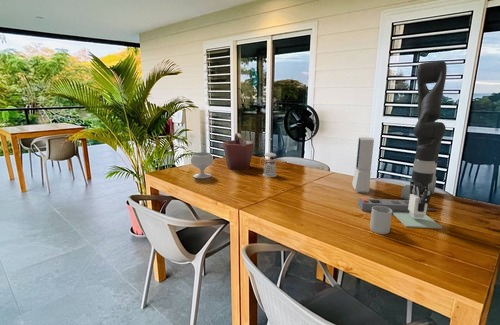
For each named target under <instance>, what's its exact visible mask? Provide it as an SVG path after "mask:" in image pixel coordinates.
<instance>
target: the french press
mask: <svg viewBox="0 0 500 325" xmlns="http://www.w3.org/2000/svg"><path fill="white" fill-rule="evenodd" d="M268 140H269V141H270V142H269V145H270V146H269V147H270V148H269V149H270V150H269V152H266V153H265V154H264V156H262V157H260V160H259V165H260V167H261V168H263V173H262V177H267V178H274V177H277V176H278V175H277V173H276V172H277V167H276V166H277V163H276V160H275V159H265V158H267V157H269V158H271V157H277V154H276V153H275V152H274V153H273V152H272V150H271V149H272V148H271V142H272V140H273V138H271V137H269V139H268ZM263 159H264V163H263V164H264V166H262V164H261V163H262V162H261V161H262V160H263Z"/></svg>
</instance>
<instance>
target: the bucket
mask: <svg viewBox="0 0 500 325" xmlns="http://www.w3.org/2000/svg"><path fill="white" fill-rule="evenodd" d="M222 147H223V152H224V156H225V162H226V166H227V168H228V169H230V170H237V171H238V170H239V171H242V170H246V169H247V170H248V169H250V166H251V162H252V156H253V152H254V141H253V140H252V141H251V140H246V139H244V137H243V135H242V134H241V133H239V132H237V133H235V134H234V140H233V139H232V140H226V141H223V142H222Z"/></svg>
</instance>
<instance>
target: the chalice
mask: <svg viewBox="0 0 500 325" xmlns="http://www.w3.org/2000/svg"><path fill="white" fill-rule="evenodd" d="M213 161H214V160H213V156H212V154H211V153H210V152H202V151H201V152H200V151H199V152H194V153H192V154H191V158H190V164H191V165H192V166H194V167H196V168H198V169H199V170H200V173H196V174H193V175H192V177H193V178H194V179H199V180H200V179H208V178H211V177H213V176H212V174H211V173H206V172H204V171H205V170H206V169H207V168H208V167H210V166H211V165H212V164H213V163H214V162H213Z"/></svg>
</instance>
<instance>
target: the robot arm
mask: <svg viewBox="0 0 500 325" xmlns="http://www.w3.org/2000/svg"><path fill="white" fill-rule="evenodd" d="M447 70H448V69H447V62H445V60H438V61H428V62H422V63H419V65H418V66H417V69H416V82H417V83H416V84H417V120H418V121H417V122H416V124H415V125H414V128H413V136H414V137H415V138H416V139H417V140H416V143H417V146H416V150H415V157H414V161H413V166H412V173H411V181H410V182H409V185H410V194H414V195H415V194H417V197H418V198H419V204H418V211H419V212H424V207H425V204H429V203H430V200H431V197H432V195H434V194H435V190H436V184H437V176H436V173H437V167H438V160H439V155H440V149H441V145H442V142H443V141H442V139H443V137H444V136H445V133H446V128H447V127H446V125H445V124H444V123H443V122H440V121H438V120H439V119H440V117H441V112H442V111H441V110H442V98H443V94H444V90H445V84H446V79H447V72H448V71H447ZM427 84H434V86H433V87H432V88H431V90H430V89H429V88H428V85H427ZM421 195H423V196H421ZM421 198H422V200H421ZM426 199H427V201H426Z"/></svg>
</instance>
